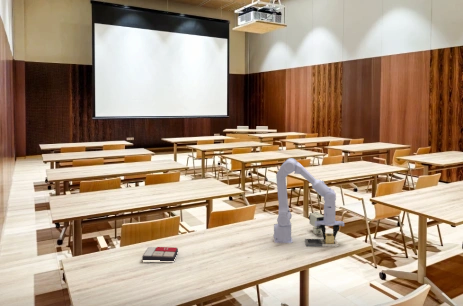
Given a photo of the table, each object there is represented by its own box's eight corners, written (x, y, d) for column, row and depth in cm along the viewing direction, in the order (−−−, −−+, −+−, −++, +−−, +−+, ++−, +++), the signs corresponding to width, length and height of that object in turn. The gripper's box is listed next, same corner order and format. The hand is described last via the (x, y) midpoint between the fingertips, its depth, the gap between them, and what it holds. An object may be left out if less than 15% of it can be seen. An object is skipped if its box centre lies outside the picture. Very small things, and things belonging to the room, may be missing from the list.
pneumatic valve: (318, 238, 200) (318, 216, 198) (308, 230, 211) (308, 210, 209) (327, 236, 201) (327, 215, 200) (317, 229, 213) (317, 209, 211)
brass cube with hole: (325, 245, 189) (325, 235, 188) (324, 242, 193) (324, 232, 192) (334, 245, 189) (334, 236, 188) (332, 242, 193) (332, 232, 192)
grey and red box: (173, 256, 174) (142, 254, 174) (173, 264, 175) (142, 263, 175) (178, 246, 185) (148, 245, 185) (178, 254, 185) (148, 253, 186)
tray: (306, 247, 189) (306, 244, 189) (304, 241, 196) (304, 238, 195) (338, 247, 188) (338, 244, 187) (335, 241, 194) (335, 238, 194)
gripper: (316, 216, 185) (316, 241, 187) (345, 216, 184) (345, 242, 186) (314, 211, 192) (314, 236, 194) (342, 211, 191) (342, 236, 193)
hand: (329, 239), depth 191 cm, fingers closed on brass cube with hole, 4 cm apart
